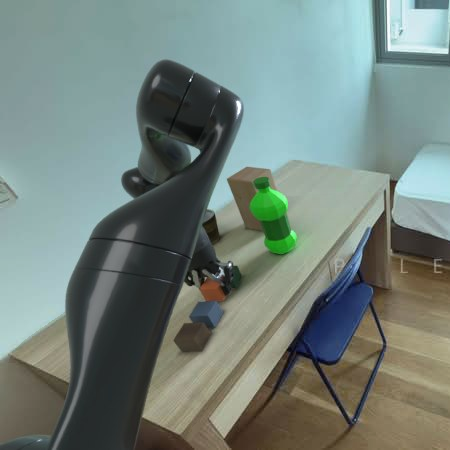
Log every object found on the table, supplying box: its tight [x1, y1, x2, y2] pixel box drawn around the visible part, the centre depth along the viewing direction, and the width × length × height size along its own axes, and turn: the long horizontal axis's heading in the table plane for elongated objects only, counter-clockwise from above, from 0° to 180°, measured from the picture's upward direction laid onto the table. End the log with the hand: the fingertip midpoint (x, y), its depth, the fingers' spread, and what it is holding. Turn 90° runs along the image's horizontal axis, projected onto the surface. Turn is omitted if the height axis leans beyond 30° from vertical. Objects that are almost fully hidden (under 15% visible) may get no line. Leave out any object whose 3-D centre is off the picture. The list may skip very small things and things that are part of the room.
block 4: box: [221, 265, 243, 290], centre depth 87 cm, size 5×5×5 cm
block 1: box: [198, 277, 227, 302], centre depth 81 cm, size 5×5×5 cm
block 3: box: [172, 322, 212, 353], centre depth 71 cm, size 5×5×5 cm
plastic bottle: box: [250, 177, 298, 255], centre depth 93 cm, size 10×10×25 cm
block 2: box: [188, 300, 224, 329], centre depth 77 cm, size 5×5×5 cm
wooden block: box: [226, 166, 278, 232], centre depth 108 cm, size 10×10×20 cm
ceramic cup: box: [202, 208, 221, 246], centre depth 102 cm, size 13×10×10 cm
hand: (218, 293), depth 82 cm, fingers closed on block 1, 4 cm apart
